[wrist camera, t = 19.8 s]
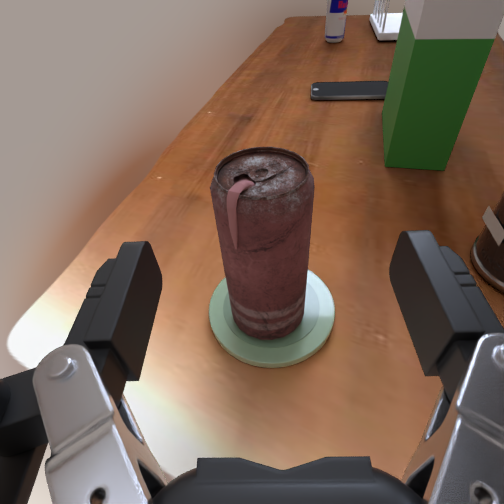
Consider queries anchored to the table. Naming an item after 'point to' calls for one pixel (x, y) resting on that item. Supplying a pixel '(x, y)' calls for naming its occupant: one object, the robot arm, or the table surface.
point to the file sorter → (385, 22)
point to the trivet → (282, 349)
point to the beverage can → (335, 20)
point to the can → (264, 237)
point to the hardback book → (435, 77)
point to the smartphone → (349, 90)
